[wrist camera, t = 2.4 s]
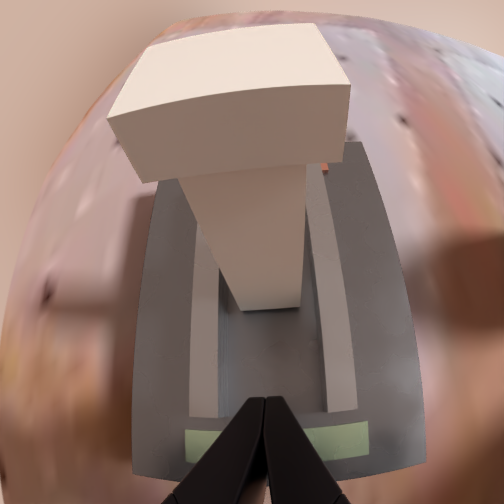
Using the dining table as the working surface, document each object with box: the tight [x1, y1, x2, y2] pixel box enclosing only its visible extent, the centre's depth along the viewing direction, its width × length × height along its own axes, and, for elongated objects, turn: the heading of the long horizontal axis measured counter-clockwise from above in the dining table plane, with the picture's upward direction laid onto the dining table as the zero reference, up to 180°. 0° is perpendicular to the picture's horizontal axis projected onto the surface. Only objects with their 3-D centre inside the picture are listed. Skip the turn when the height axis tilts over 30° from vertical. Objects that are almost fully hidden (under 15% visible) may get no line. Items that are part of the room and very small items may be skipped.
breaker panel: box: [132, 142, 426, 486], centre depth 14 cm, size 17×12×5 cm
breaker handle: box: [106, 23, 351, 311], centre depth 9 cm, size 3×4×10 cm
